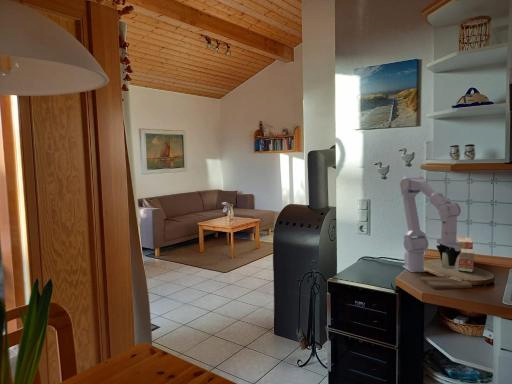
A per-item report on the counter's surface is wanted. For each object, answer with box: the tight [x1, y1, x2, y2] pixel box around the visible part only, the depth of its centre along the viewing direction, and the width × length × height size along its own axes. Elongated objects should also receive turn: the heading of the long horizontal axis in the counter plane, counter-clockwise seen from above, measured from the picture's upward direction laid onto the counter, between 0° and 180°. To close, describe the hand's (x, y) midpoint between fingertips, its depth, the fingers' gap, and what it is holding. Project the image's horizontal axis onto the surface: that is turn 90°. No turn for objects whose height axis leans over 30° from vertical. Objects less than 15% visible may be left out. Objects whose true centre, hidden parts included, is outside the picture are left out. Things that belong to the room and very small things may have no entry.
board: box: [419, 275, 473, 290], centre depth 165 cm, size 12×16×1 cm
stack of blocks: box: [456, 236, 475, 270], centre depth 188 cm, size 21×6×12 cm, turn 155°
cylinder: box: [441, 252, 456, 270], centre depth 164 cm, size 5×5×6 cm
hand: (448, 263), depth 164 cm, fingers closed on cylinder, 5 cm apart
